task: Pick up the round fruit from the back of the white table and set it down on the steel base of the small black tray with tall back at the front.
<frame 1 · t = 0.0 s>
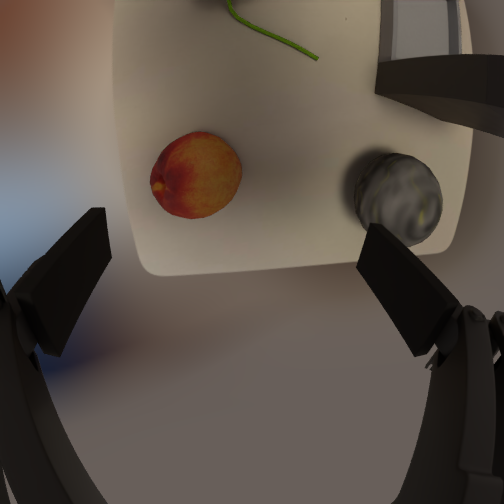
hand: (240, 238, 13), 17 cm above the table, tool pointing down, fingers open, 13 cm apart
tray with tall back: (418, 25, 19), on the table
fruit: (199, 165, 27), on the table
decorative stone: (375, 185, 30), on the table
decorative flower: (263, 7, 19), on the table
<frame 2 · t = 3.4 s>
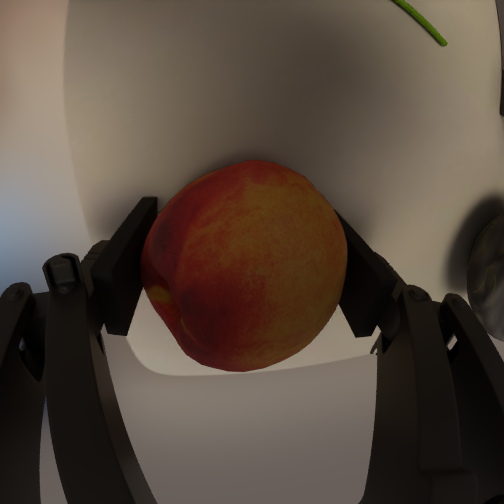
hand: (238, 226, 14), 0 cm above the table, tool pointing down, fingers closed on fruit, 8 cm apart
fruit: (240, 220, 14), on the table, touching gripper
decorative stone: (480, 243, 17), on the table
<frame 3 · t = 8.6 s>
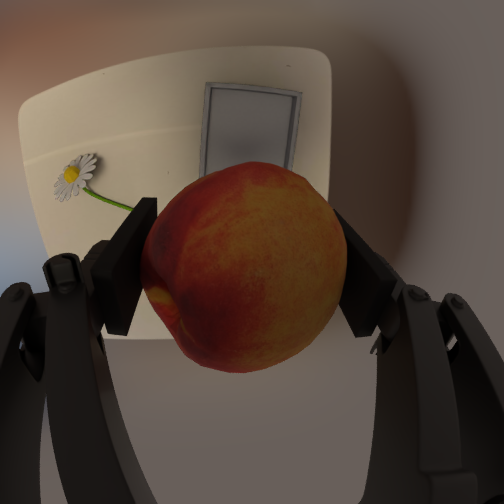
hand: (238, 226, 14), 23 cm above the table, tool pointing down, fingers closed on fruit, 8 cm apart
tray with tall back: (246, 148, 33), on the table
fruit: (239, 221, 14), point 22 cm above the table, touching gripper
decorative flower: (108, 179, 33), on the table
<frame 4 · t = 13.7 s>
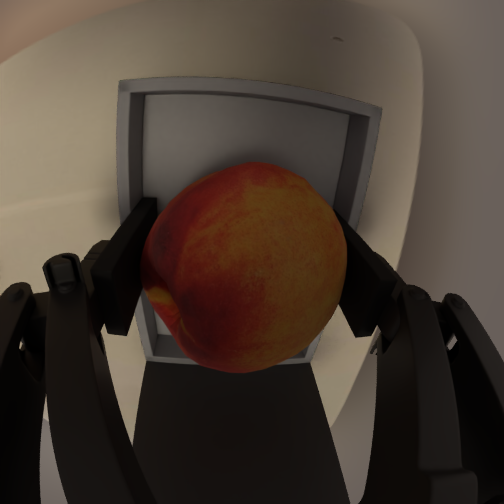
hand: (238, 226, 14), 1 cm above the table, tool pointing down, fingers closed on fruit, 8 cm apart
tray with tall back: (235, 235, 15), on the table
fruit: (240, 221, 14), point 1 cm above the table, touching gripper
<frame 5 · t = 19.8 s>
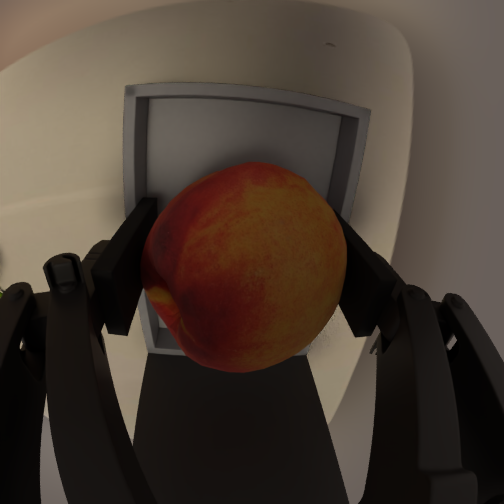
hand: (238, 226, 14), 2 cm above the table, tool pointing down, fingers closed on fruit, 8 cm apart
tray with tall back: (234, 230, 16), on the table
fruit: (240, 221, 14), point 2 cm above the table, touching gripper
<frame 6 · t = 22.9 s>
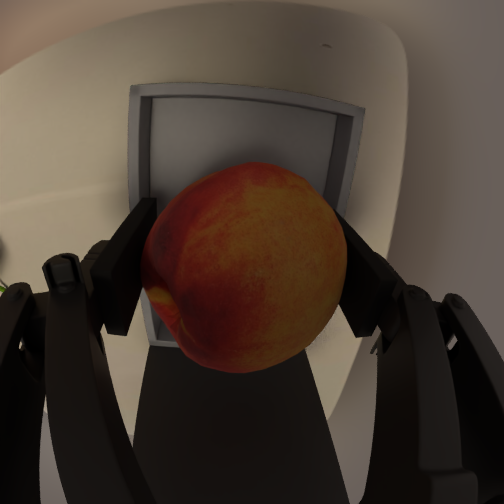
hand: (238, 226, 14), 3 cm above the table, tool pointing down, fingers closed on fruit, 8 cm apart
tray with tall back: (234, 225, 17), on the table
fruit: (240, 221, 14), point 2 cm above the table, touching gripper
when the fingers open (3 cm above the table, at t = 25.2 s): fruit stays where it is, resting on tray with tall back.
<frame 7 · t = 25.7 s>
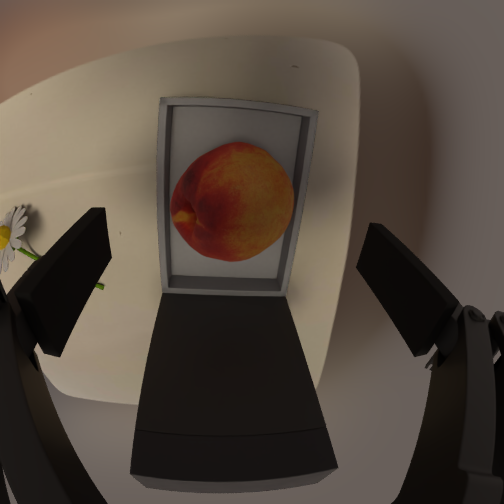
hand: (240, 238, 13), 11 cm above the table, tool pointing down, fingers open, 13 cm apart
tray with tall back: (229, 197, 23), on the table
fruit: (231, 185, 22), point 1 cm above the table, touching tray with tall back
decorative flower: (49, 239, 22), on the table
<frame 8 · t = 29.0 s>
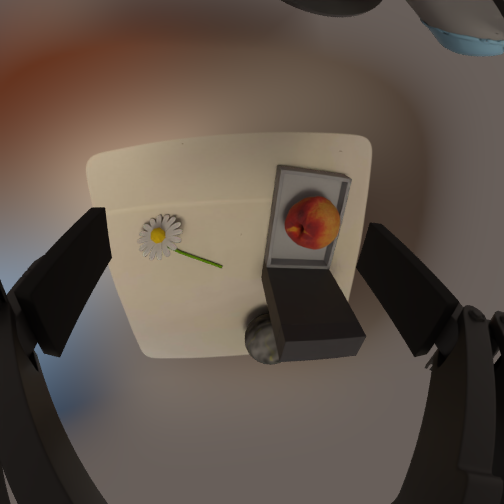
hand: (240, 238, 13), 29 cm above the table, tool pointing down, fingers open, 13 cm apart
tray with tall back: (303, 217, 44), on the table
fruit: (306, 211, 43), point 1 cm above the table, touching tray with tall back
decorative stone: (267, 320, 55), on the table
decorative flower: (186, 236, 44), on the table
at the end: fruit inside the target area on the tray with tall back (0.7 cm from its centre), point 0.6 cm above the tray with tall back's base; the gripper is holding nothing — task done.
